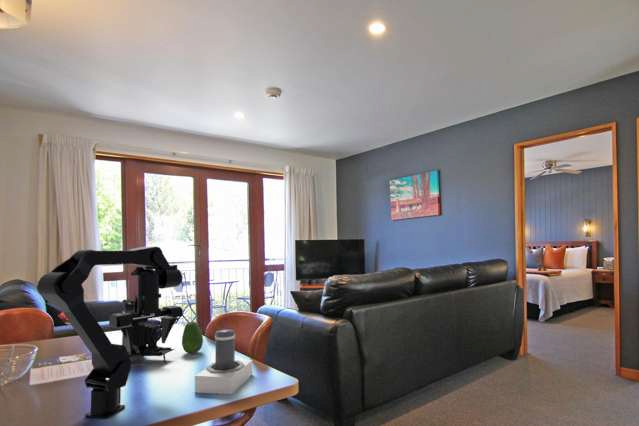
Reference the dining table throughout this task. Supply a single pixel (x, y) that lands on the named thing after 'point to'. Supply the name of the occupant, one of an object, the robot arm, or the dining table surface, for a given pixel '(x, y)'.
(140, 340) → the vintage camera
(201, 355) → the dining table surface
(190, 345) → the avocado
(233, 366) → the lens
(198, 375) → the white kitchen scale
